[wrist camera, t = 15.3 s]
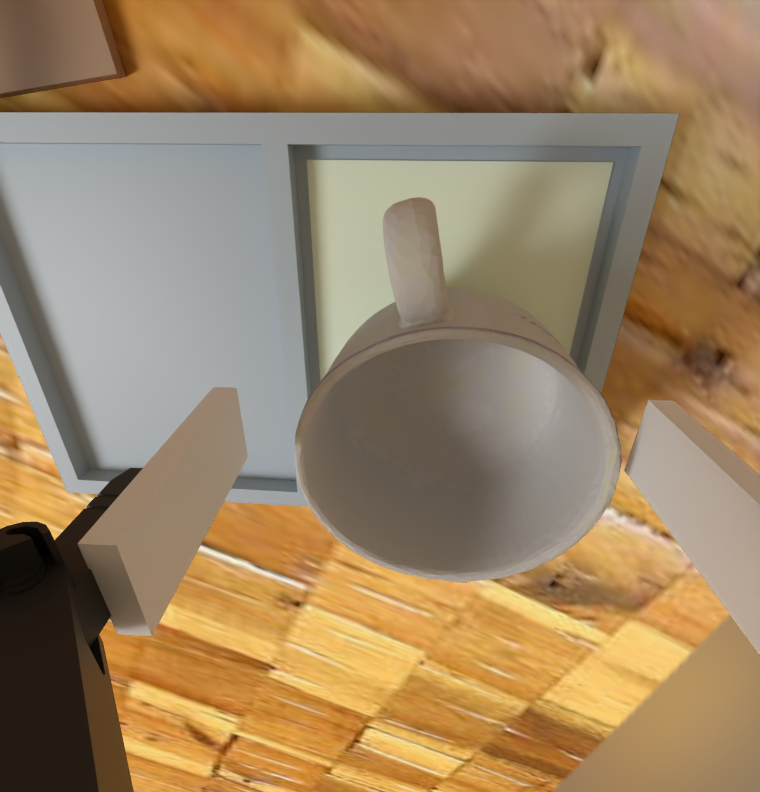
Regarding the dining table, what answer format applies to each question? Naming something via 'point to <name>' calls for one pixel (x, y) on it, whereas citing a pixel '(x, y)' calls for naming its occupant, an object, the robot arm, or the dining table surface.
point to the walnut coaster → (55, 45)
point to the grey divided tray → (287, 257)
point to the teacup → (453, 428)
